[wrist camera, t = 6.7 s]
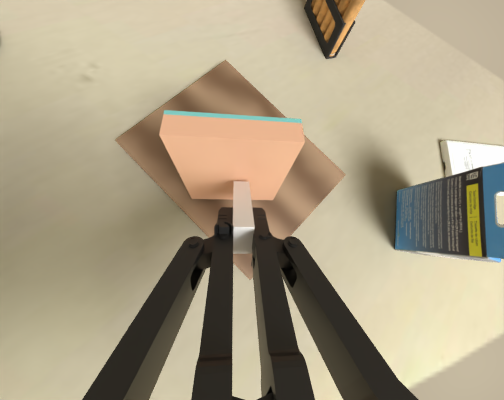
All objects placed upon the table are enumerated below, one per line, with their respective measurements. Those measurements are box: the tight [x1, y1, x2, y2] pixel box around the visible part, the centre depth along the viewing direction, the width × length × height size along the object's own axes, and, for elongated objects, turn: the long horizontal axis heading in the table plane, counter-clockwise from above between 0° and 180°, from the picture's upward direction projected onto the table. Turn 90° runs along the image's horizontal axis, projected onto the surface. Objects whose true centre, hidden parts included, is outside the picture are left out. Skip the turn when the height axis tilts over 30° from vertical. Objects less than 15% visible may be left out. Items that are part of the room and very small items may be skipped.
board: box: [115, 60, 346, 280], centre depth 25 cm, size 19×24×1 cm
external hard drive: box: [440, 140, 504, 196], centre depth 29 cm, size 2×8×12 cm
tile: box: [159, 110, 305, 200], centre depth 18 cm, size 2×10×11 cm, turn 90°
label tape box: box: [395, 162, 504, 262], centre depth 20 cm, size 9×4×12 cm, turn 169°
